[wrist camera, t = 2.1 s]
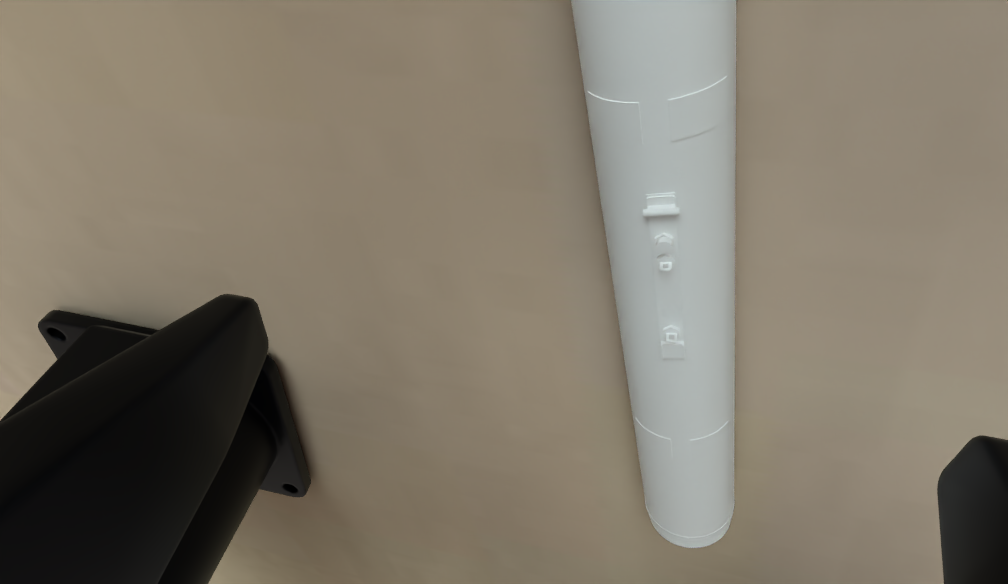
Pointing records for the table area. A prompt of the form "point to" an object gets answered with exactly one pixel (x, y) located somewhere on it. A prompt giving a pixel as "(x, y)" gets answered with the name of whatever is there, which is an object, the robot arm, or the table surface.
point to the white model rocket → (670, 240)
